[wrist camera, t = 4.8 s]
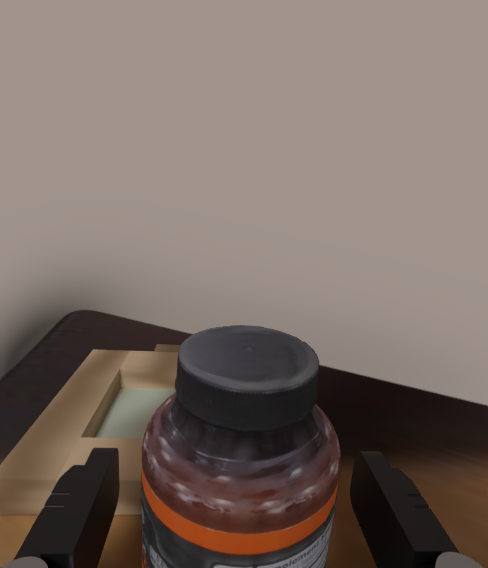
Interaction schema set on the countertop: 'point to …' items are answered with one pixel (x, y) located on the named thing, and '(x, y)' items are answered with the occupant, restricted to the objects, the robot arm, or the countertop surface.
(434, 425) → the countertop surface
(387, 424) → the countertop surface
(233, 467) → the supplement bottle
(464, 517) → the countertop surface
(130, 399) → the holder
